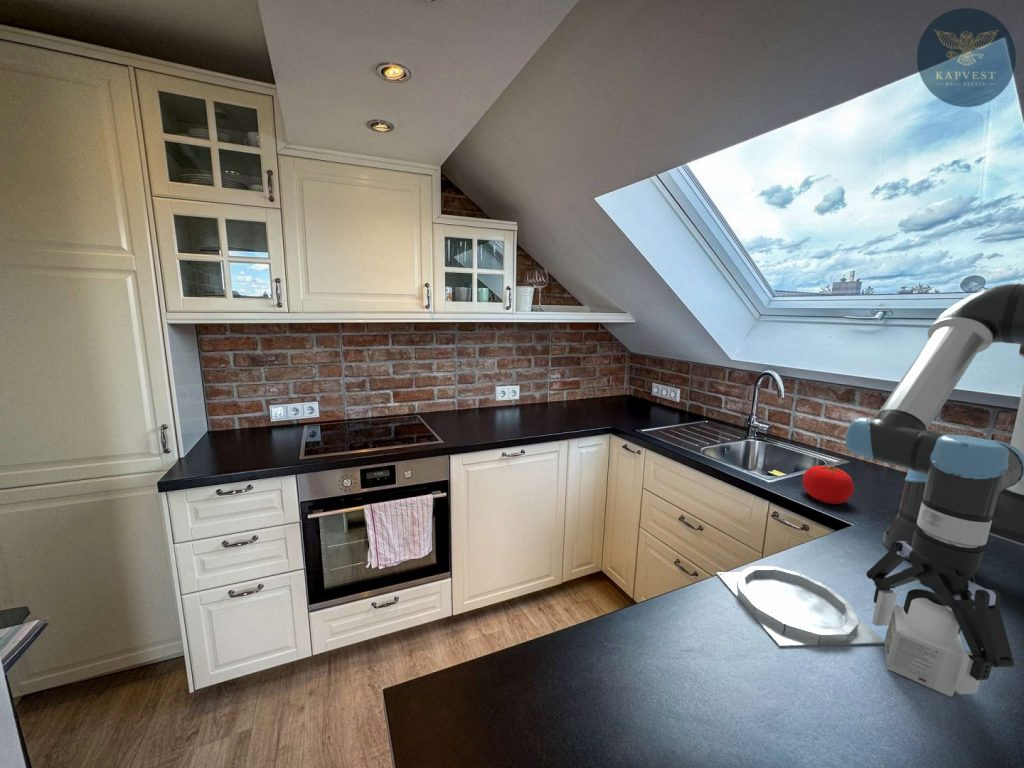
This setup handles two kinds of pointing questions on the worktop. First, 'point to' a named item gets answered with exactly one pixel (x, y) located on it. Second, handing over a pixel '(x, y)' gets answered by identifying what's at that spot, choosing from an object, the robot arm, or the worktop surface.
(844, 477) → the tomato
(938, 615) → the container
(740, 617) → the worktop surface
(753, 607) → the duct collar
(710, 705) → the worktop surface
